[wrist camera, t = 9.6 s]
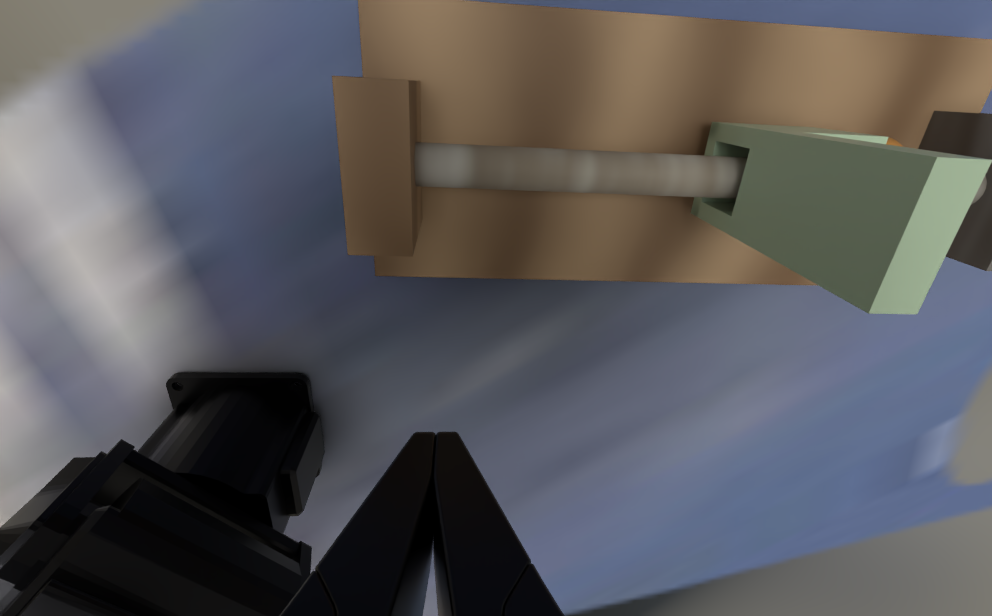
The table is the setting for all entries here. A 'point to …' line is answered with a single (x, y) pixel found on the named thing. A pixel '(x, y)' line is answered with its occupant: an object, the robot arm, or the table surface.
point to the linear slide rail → (615, 134)
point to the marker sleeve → (845, 208)
